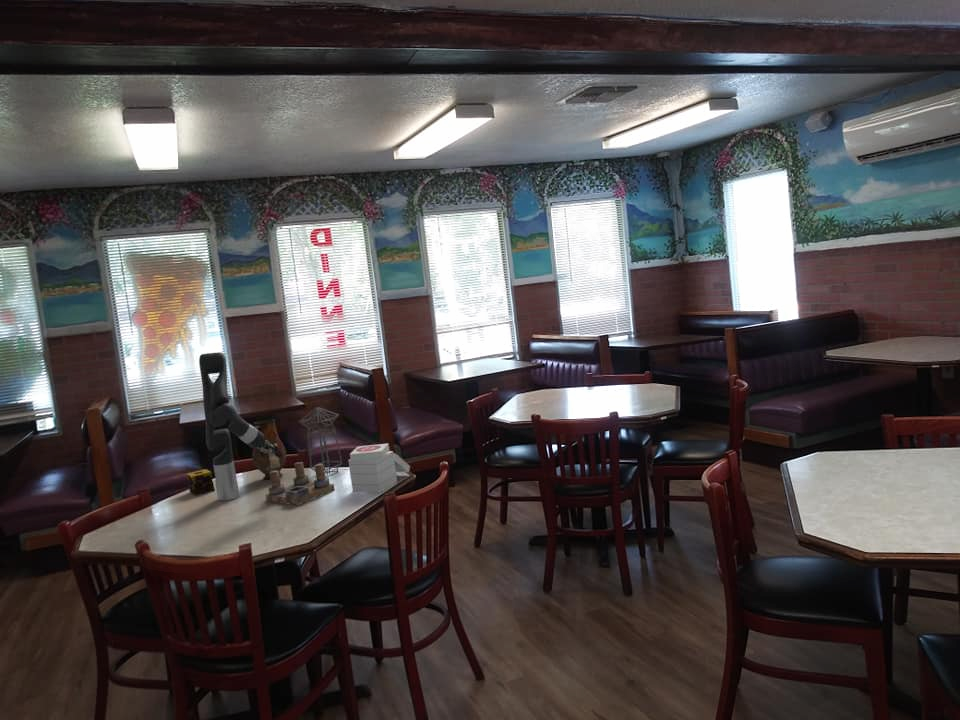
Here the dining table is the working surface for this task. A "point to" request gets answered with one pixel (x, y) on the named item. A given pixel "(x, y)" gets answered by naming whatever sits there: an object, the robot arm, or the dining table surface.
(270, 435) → the pitcher
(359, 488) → the pizza box stack
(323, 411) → the geometric lantern
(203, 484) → the yellow and brown cube
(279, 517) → the dining table surface
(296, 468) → the stool
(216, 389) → the robot arm
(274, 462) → the loose leg
